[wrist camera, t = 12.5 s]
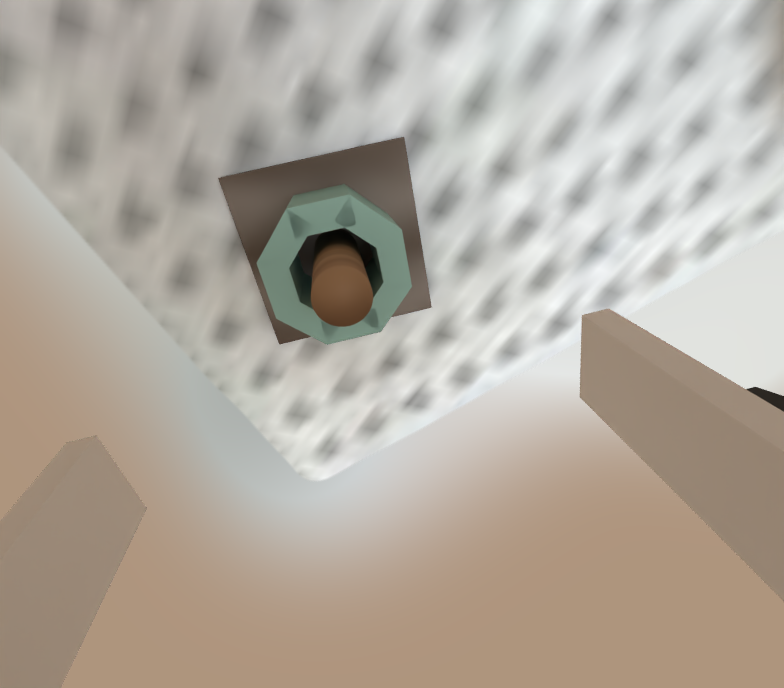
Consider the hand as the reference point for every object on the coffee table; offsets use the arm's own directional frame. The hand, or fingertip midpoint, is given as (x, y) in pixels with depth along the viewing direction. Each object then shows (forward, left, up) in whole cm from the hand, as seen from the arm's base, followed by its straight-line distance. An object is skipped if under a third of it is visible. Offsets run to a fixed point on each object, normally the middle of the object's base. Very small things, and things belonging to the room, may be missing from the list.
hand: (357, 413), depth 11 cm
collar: (0, 0, -20) cm, 20 cm away
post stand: (0, 0, -21) cm, 21 cm away
